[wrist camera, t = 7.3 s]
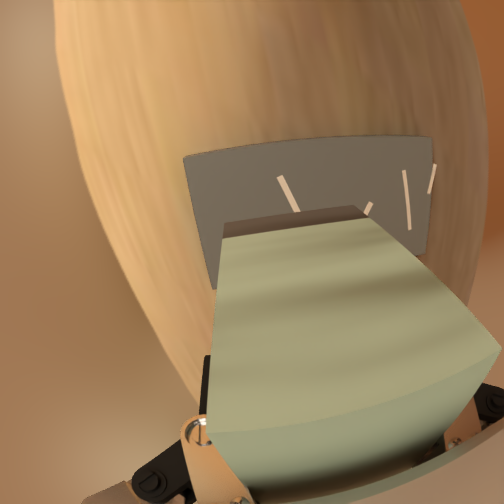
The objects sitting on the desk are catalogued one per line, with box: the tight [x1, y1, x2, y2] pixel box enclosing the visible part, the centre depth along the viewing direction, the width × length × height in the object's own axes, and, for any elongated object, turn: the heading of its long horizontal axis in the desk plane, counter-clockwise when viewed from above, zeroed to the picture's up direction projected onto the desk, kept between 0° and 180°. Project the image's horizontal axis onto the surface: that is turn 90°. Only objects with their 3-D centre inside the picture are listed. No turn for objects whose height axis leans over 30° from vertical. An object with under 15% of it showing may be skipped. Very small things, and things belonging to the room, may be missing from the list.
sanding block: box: [205, 205, 502, 504], centre depth 9 cm, size 9×5×8 cm, turn 8°
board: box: [183, 135, 437, 289], centre depth 23 cm, size 12×23×2 cm, turn 98°
